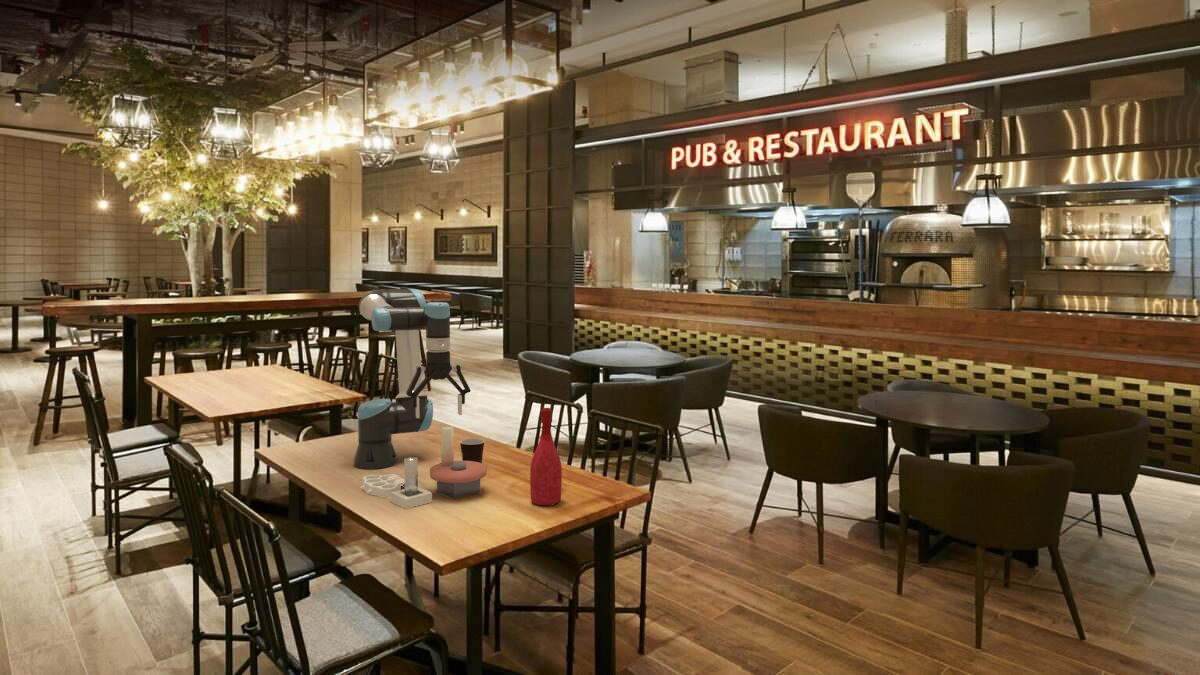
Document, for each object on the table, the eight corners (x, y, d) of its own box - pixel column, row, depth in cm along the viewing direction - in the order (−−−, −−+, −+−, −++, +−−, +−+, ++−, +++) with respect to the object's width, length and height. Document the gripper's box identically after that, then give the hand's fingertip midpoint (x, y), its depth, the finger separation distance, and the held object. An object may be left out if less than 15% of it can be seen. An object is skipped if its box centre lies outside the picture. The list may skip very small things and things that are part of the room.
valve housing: (436, 492, 233) (436, 475, 233) (462, 485, 240) (462, 468, 240) (454, 499, 226) (454, 482, 226) (480, 492, 233) (480, 475, 233)
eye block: (391, 501, 223) (390, 492, 223) (416, 495, 230) (416, 486, 229) (406, 509, 217) (405, 499, 217) (431, 502, 223) (431, 493, 223)
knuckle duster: (417, 492, 233) (374, 502, 224) (393, 479, 247) (351, 488, 238) (417, 482, 233) (374, 492, 224) (393, 470, 247) (351, 478, 237)
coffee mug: (479, 472, 255) (479, 445, 254) (456, 470, 257) (456, 443, 256) (490, 463, 266) (490, 437, 265) (468, 462, 268) (468, 435, 267)
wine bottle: (549, 509, 219) (549, 412, 216) (523, 503, 224) (524, 408, 221) (567, 500, 227) (568, 407, 224) (542, 494, 232) (543, 403, 229)
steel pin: (402, 502, 223) (401, 458, 222) (413, 499, 226) (413, 455, 225) (409, 505, 221) (408, 460, 219) (420, 502, 223) (420, 458, 222)
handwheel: (447, 486, 220) (447, 442, 218) (419, 473, 233) (419, 431, 232) (497, 475, 232) (497, 433, 230) (467, 463, 245) (467, 423, 244)
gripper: (399, 353, 222) (401, 421, 224) (479, 350, 231) (479, 415, 234) (396, 350, 228) (397, 416, 231) (473, 347, 238) (474, 410, 240)
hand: (439, 415), depth 232 cm, fingers open, 13 cm apart
